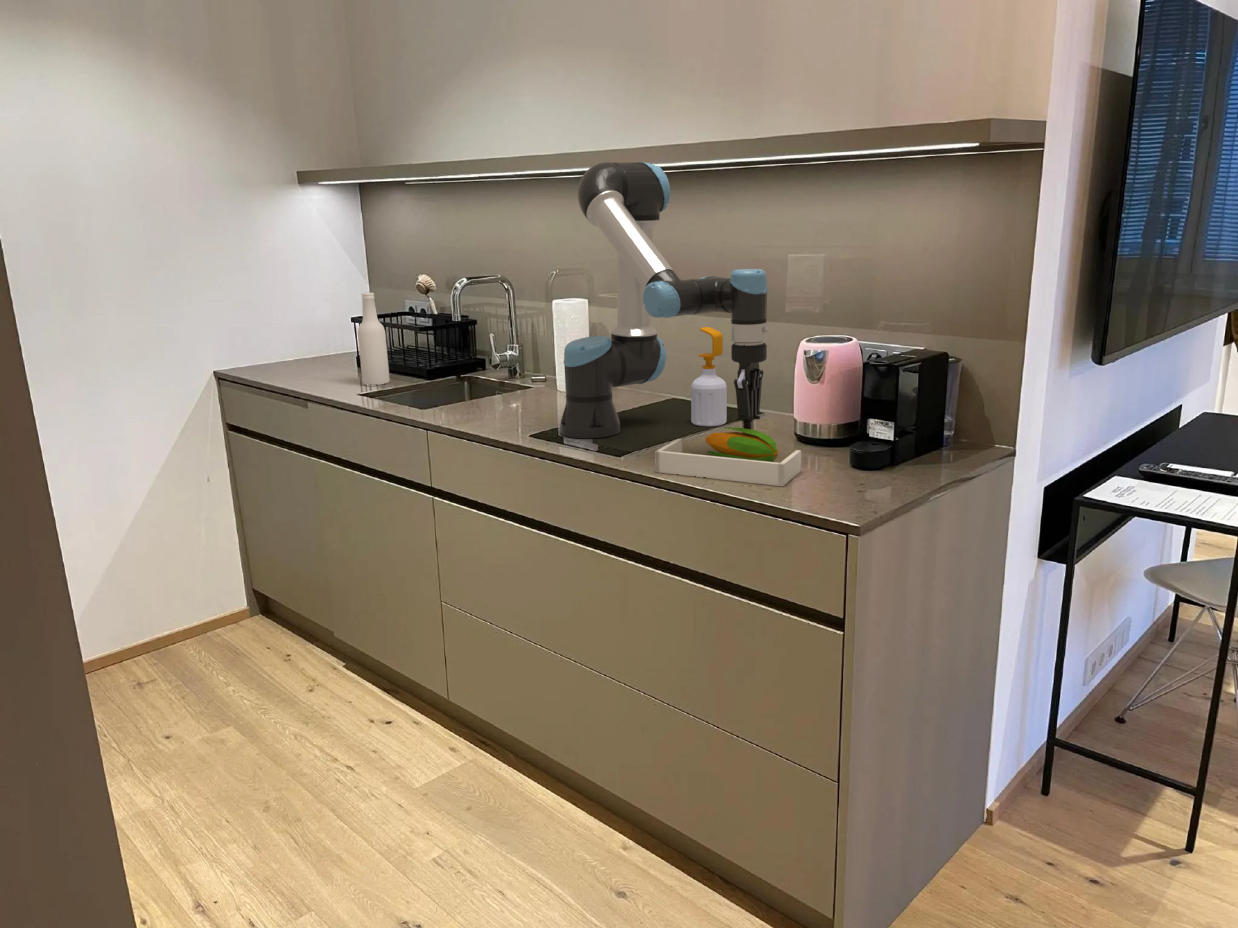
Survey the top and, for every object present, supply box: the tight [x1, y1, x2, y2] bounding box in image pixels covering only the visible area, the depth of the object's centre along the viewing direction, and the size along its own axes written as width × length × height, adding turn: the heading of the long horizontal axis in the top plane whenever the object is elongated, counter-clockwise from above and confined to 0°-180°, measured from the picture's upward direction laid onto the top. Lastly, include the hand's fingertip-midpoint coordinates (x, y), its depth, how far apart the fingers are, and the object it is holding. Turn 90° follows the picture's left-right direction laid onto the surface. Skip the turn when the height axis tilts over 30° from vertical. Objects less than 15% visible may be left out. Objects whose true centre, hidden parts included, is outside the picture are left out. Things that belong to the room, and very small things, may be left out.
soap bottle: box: [690, 326, 728, 427], centre depth 238 cm, size 9×9×25 cm
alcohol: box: [357, 292, 391, 385], centre depth 306 cm, size 9×9×30 cm
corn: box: [704, 426, 779, 462], centre depth 202 cm, size 7×8×20 cm
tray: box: [654, 438, 802, 487], centre depth 195 cm, size 28×12×4 cm, turn 63°
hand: (749, 448), depth 206 cm, fingers closed
